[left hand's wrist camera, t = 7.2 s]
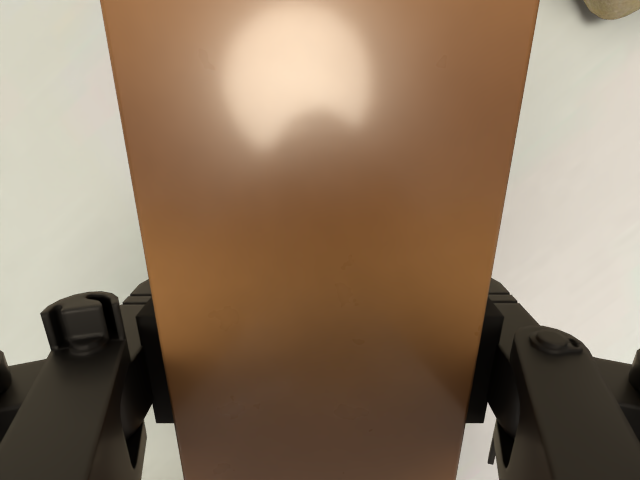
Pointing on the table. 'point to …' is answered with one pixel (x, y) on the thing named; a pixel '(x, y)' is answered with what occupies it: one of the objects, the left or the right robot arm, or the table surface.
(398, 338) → the bar
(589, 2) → the sculpture
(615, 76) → the table surface
